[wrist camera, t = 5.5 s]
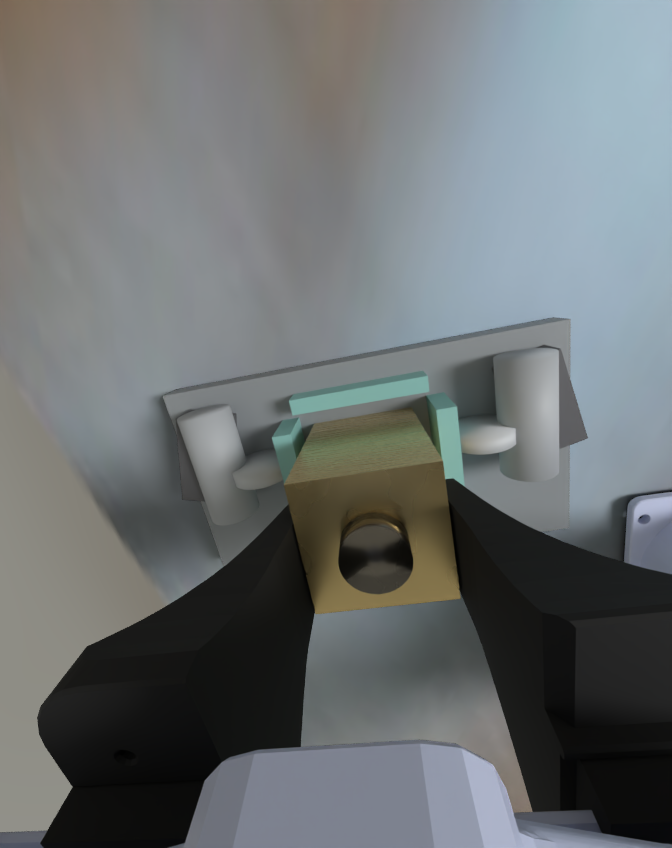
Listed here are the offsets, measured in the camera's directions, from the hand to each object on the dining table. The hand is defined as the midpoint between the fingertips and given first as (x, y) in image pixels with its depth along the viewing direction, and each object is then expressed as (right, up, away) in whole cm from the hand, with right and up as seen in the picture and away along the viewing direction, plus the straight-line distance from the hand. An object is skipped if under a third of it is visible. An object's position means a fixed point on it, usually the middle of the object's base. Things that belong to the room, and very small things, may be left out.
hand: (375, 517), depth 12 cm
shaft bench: (0, +2, +5) cm, 5 cm away
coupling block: (0, +1, +4) cm, 4 cm away
